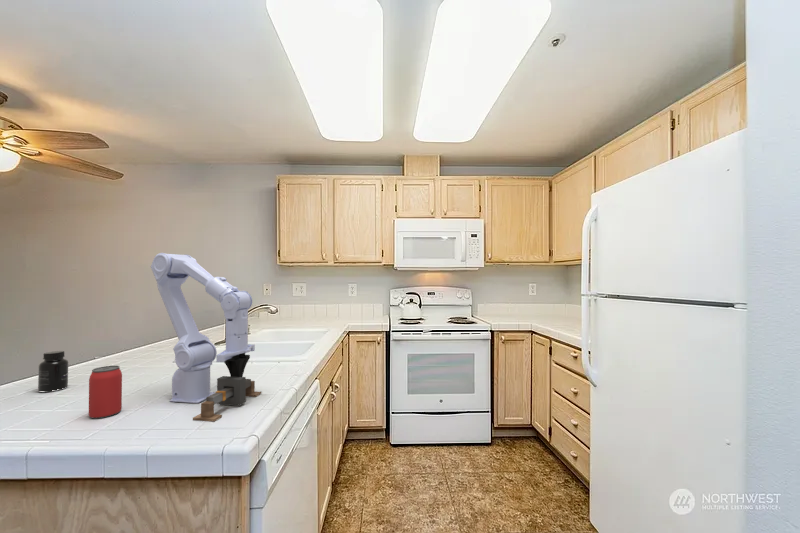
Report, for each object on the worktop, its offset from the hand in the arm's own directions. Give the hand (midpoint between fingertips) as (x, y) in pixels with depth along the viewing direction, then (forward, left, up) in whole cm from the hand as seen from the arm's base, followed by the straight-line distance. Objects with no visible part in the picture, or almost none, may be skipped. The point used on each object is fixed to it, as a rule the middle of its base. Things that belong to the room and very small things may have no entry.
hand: (236, 381), depth 98 cm
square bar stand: (0, -3, -6) cm, 6 cm away
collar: (0, -2, -6) cm, 6 cm away
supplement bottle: (-67, +2, -6) cm, 67 cm away
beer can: (-29, -13, -6) cm, 32 cm away
